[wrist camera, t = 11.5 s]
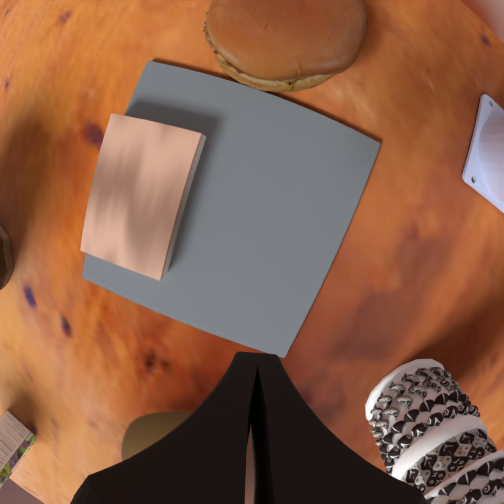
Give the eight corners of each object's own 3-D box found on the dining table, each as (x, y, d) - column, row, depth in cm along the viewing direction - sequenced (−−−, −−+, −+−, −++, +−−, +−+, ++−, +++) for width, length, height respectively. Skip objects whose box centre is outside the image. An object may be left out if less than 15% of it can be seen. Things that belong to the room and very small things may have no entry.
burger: (243, 116, 17) (238, 97, 13) (191, 11, 15) (175, -24, 11) (379, 72, 16) (409, 48, 11) (318, -25, 14) (329, -61, 9)
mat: (378, 144, 17) (380, 143, 17) (283, 354, 21) (284, 358, 20) (150, 62, 16) (148, 60, 16) (84, 275, 20) (81, 277, 19)
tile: (160, 280, 18) (80, 250, 17) (167, 272, 19) (92, 244, 19) (201, 133, 15) (111, 113, 15) (206, 136, 17) (122, 117, 17)
